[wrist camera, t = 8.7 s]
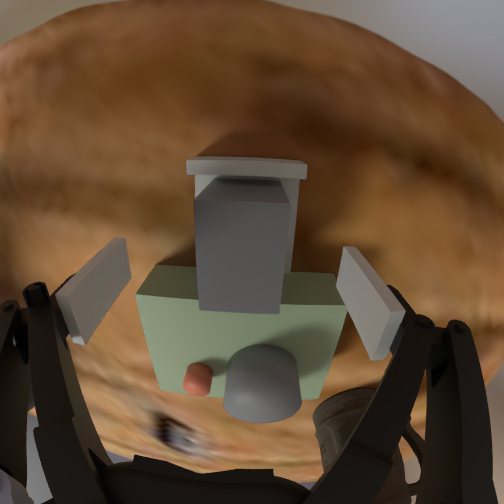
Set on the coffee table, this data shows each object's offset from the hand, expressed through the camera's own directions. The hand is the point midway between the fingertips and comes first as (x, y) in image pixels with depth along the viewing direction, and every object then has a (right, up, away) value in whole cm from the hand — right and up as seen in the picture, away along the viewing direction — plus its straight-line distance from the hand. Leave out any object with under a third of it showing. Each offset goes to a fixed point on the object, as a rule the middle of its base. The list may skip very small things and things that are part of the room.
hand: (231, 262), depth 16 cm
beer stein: (+18, -22, +17) cm, 33 cm away
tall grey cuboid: (+1, +3, +6) cm, 7 cm away
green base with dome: (0, -2, +9) cm, 9 cm away
